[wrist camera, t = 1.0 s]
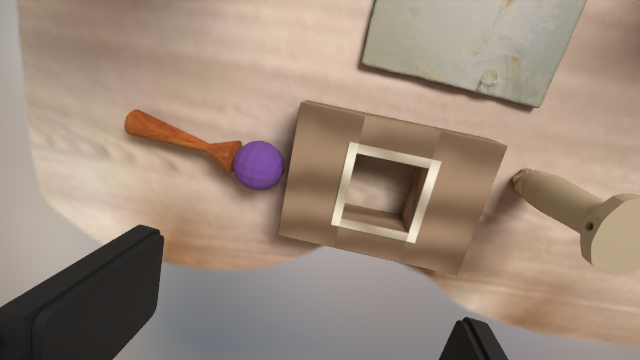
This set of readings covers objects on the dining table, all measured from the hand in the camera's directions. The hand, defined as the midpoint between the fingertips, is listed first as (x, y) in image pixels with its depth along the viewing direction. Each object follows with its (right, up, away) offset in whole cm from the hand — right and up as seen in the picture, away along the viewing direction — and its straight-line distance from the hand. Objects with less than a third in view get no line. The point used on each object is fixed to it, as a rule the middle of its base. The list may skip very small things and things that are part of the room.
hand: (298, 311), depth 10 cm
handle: (+26, +4, +28) cm, 39 cm away
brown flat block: (+8, +4, +30) cm, 31 cm away
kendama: (-13, +9, +31) cm, 35 cm away
